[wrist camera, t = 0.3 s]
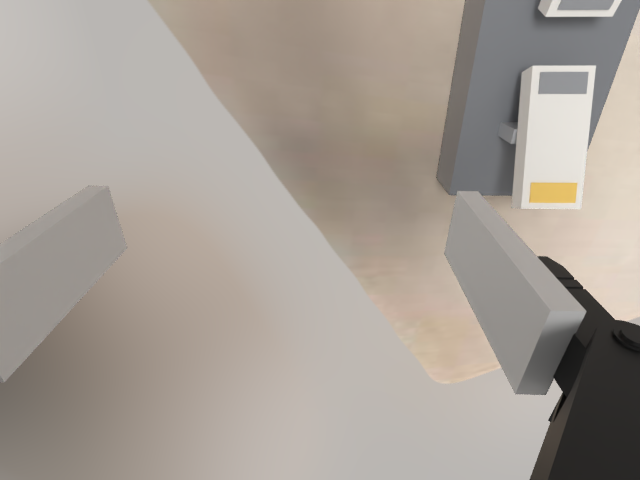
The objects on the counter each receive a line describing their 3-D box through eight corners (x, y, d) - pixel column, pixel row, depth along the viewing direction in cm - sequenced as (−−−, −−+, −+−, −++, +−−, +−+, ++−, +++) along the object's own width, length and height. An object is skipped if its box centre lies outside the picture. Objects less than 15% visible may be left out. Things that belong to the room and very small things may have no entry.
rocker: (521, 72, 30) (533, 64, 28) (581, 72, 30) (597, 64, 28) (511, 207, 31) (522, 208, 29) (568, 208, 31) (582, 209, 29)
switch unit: (492, -166, 27) (545, -231, 21) (661, -169, 27) (772, -235, 20) (436, 177, 41) (457, 206, 34) (548, 178, 40) (592, 207, 34)
